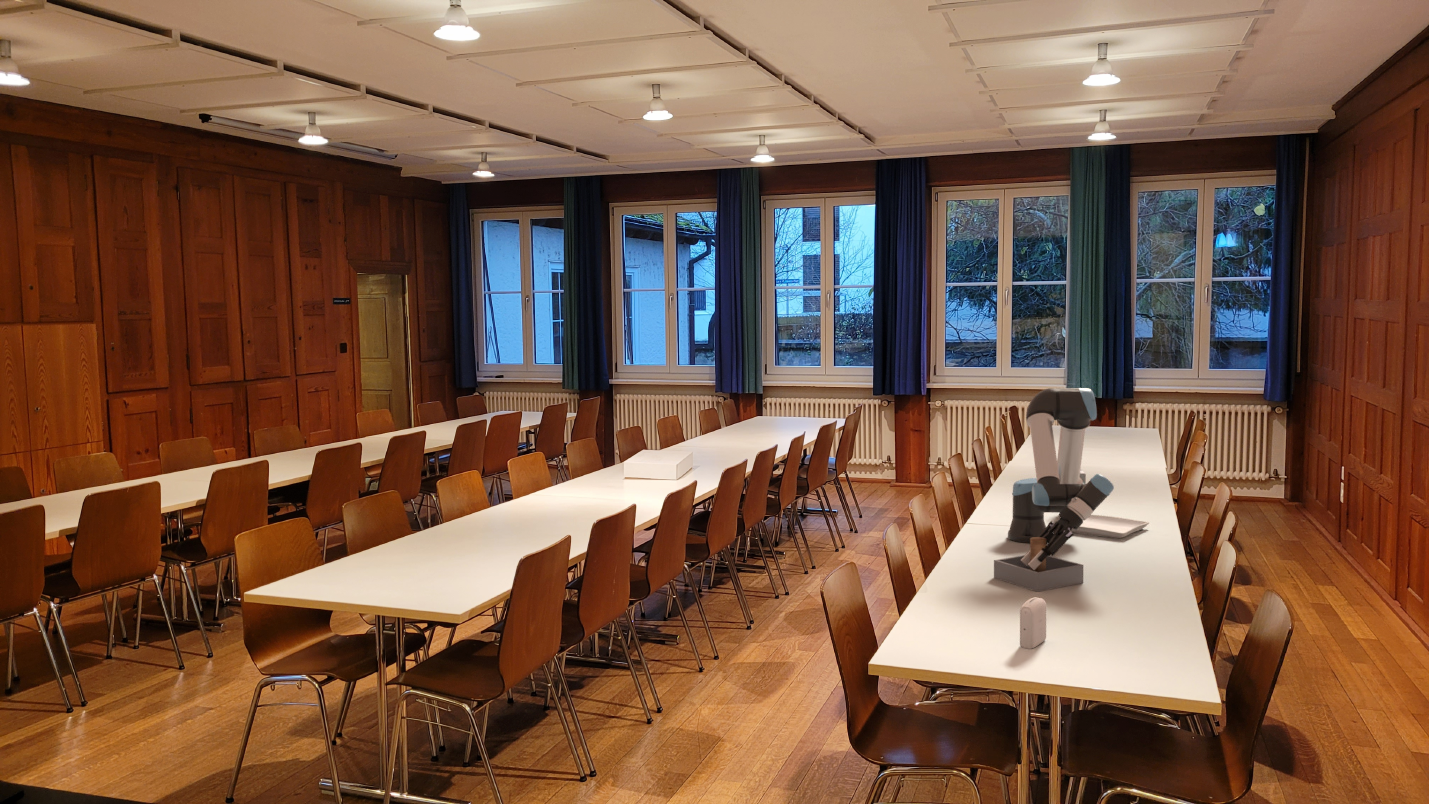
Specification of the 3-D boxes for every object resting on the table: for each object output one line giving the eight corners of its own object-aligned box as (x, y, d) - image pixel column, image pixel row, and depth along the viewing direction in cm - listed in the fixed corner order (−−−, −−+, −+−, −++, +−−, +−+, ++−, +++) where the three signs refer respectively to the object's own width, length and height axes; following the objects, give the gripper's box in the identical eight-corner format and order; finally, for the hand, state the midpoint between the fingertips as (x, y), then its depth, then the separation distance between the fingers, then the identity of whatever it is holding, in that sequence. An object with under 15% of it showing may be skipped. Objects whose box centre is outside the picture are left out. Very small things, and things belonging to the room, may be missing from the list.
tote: (993, 577, 344) (993, 560, 343) (1038, 569, 353) (1038, 552, 352) (1037, 591, 326) (1037, 573, 325) (1083, 582, 335) (1083, 564, 334)
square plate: (1124, 542, 390) (1124, 532, 390) (1055, 533, 409) (1055, 523, 409) (1149, 529, 410) (1150, 520, 410) (1083, 521, 429) (1083, 512, 428)
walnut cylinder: (1027, 572, 341) (1027, 537, 340) (1042, 572, 342) (1042, 536, 341) (1034, 576, 336) (1034, 540, 335) (1048, 575, 337) (1048, 540, 336)
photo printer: (1033, 650, 272) (1033, 604, 271) (1017, 647, 275) (1017, 602, 274) (1048, 640, 280) (1048, 595, 279) (1033, 637, 283) (1033, 593, 282)
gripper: (1055, 501, 347) (1008, 551, 347) (1080, 511, 329) (1031, 564, 329) (1069, 515, 348) (1023, 565, 348) (1095, 527, 331) (1047, 579, 330)
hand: (1027, 565), depth 338 cm, fingers closed on walnut cylinder, 5 cm apart
